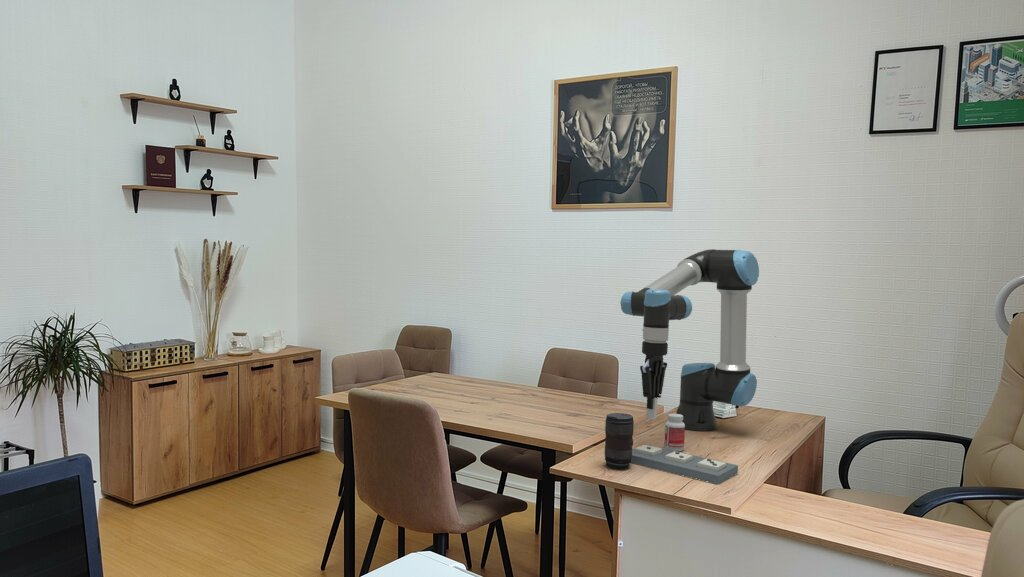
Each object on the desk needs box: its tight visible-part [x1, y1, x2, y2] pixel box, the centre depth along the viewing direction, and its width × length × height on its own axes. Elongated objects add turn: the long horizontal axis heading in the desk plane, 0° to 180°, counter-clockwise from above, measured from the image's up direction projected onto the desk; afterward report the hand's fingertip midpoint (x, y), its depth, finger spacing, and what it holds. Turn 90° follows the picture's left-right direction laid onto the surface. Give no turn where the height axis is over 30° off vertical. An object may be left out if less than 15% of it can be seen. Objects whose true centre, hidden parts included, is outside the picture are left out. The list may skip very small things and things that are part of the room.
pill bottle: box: [663, 413, 686, 452], centre depth 231 cm, size 6×6×11 cm
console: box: [630, 443, 739, 485], centre depth 212 cm, size 14×30×2 cm, turn 51°
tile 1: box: [634, 444, 662, 456], centre depth 218 cm, size 6×6×4 cm
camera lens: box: [604, 412, 635, 471], centre depth 210 cm, size 8×8×15 cm
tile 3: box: [697, 458, 727, 471], centre depth 206 cm, size 6×6×4 cm
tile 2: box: [665, 451, 693, 464], centre depth 212 cm, size 6×6×4 cm
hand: (651, 418), depth 218 cm, fingers closed
